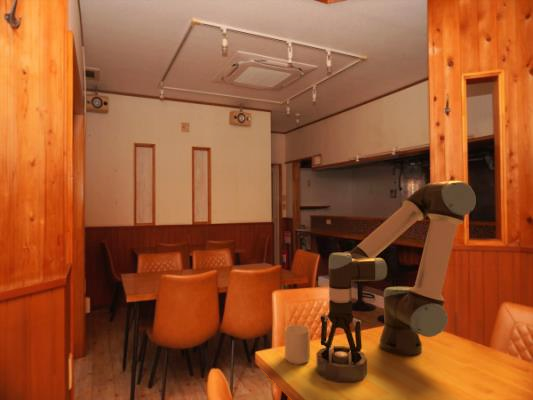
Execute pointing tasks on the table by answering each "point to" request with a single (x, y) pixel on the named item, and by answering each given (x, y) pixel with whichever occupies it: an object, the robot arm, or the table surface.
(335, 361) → the brown short cylinder
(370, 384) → the table surface
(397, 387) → the table surface
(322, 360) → the brown ring
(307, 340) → the mug
